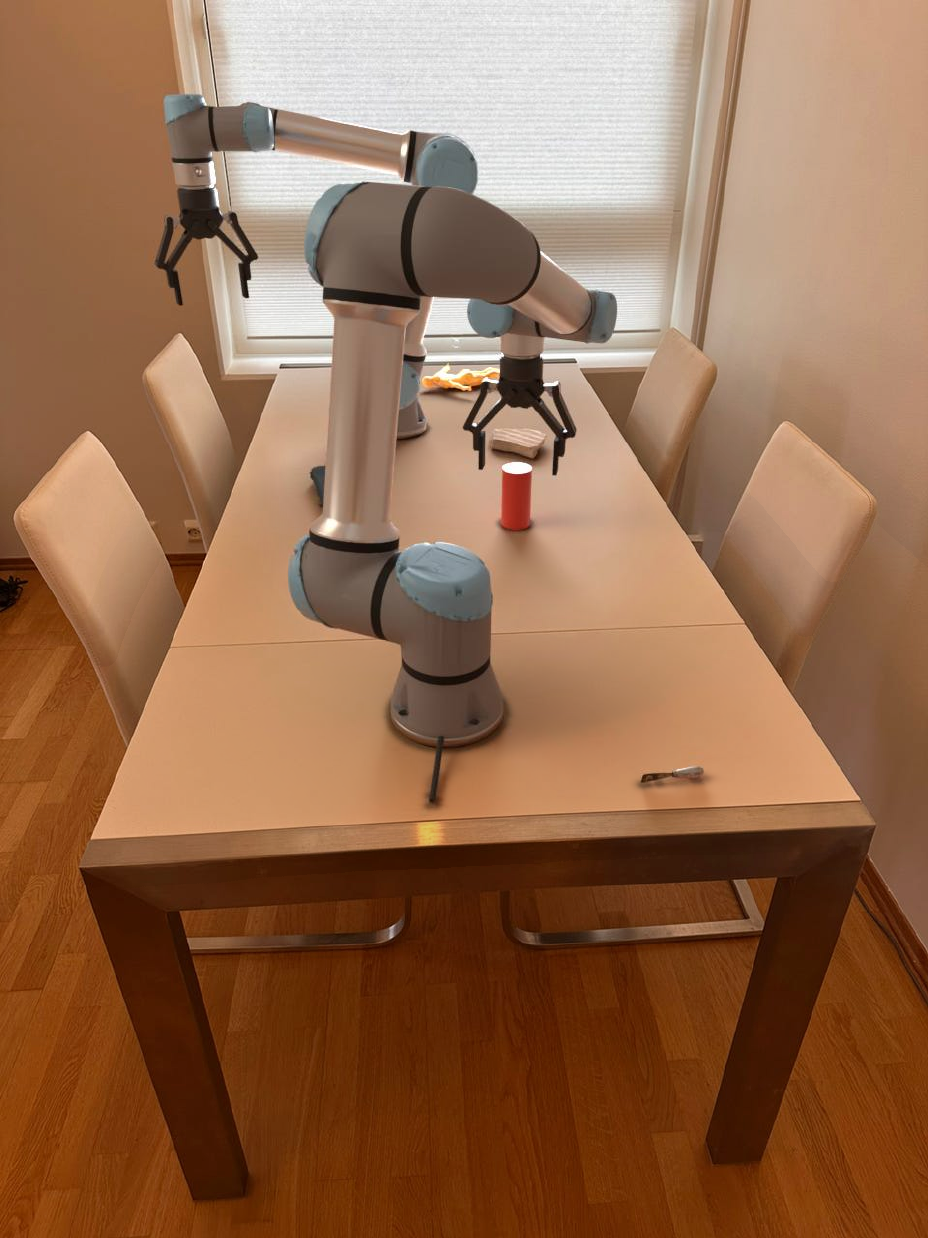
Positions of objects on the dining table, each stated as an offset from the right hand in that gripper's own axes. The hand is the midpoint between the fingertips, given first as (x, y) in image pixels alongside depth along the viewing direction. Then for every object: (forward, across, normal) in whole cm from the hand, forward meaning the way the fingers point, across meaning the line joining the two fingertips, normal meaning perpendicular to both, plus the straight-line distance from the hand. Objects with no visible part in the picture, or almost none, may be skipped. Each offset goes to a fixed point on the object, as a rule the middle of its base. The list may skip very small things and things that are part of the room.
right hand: (518, 469), depth 164 cm
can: (+11, 0, -1) cm, 11 cm away
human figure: (+11, +26, -82) cm, 87 cm away
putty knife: (+11, -30, +67) cm, 74 cm away
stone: (+11, +6, -39) cm, 41 cm away
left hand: (-22, +68, -24) cm, 75 cm away
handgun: (+11, +37, -8) cm, 39 cm away
